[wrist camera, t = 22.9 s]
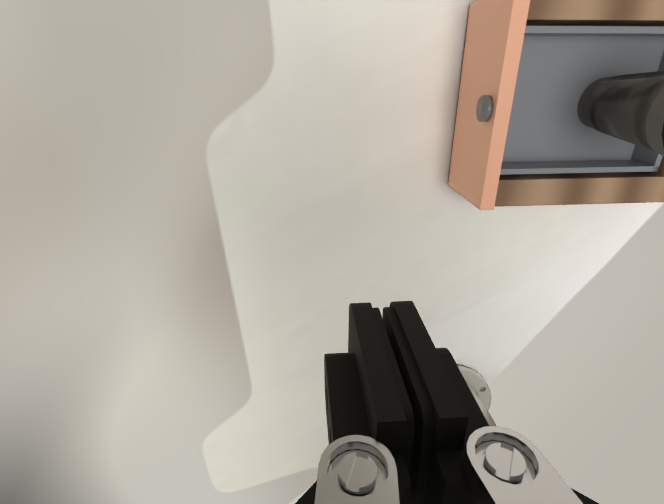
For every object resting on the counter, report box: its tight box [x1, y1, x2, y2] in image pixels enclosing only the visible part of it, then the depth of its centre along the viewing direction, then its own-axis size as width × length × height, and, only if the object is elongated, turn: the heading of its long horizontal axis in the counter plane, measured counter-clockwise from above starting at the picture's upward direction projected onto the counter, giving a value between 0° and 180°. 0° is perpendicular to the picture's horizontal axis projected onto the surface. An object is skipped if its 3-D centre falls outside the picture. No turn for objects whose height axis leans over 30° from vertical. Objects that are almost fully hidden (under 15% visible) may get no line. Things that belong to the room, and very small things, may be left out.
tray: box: [448, 0, 664, 210], centre depth 35 cm, size 19×16×8 cm
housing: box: [495, 0, 664, 206], centre depth 37 cm, size 20×18×5 cm
